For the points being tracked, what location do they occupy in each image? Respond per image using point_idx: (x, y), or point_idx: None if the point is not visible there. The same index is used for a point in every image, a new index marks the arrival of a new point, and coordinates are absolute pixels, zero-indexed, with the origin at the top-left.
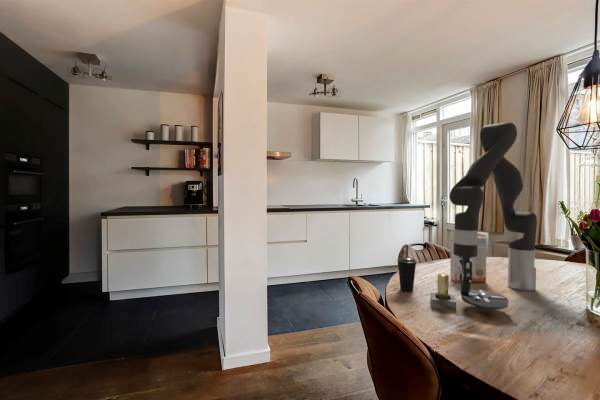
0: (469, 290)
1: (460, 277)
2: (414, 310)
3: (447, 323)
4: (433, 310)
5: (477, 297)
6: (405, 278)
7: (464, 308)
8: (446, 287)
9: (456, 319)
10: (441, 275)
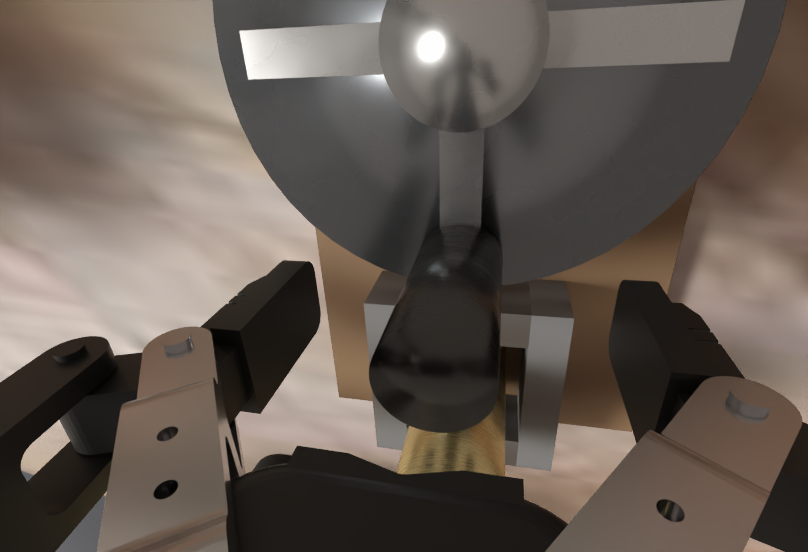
0: (656, 289)
1: (284, 368)
2: (578, 486)
3: (782, 352)
4: (604, 418)
5: (530, 136)
6: None
7: None
8: (495, 455)
9: (689, 285)
10: None
